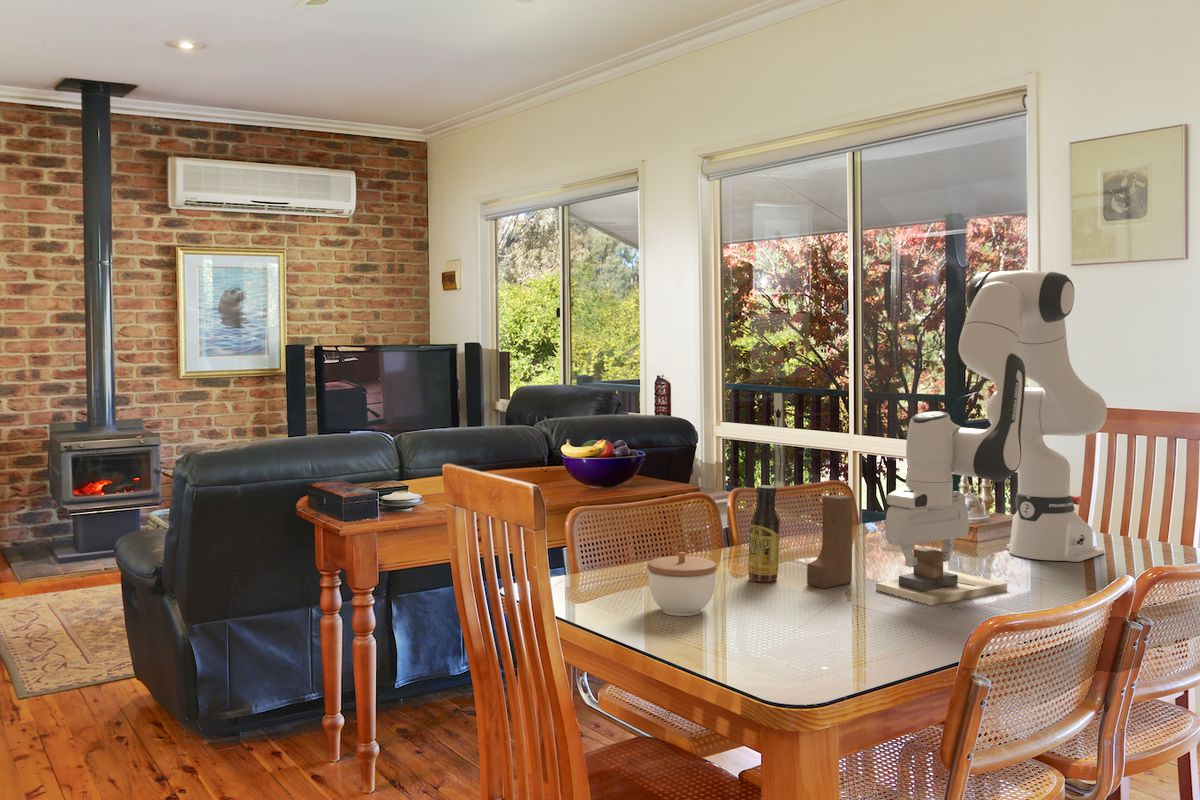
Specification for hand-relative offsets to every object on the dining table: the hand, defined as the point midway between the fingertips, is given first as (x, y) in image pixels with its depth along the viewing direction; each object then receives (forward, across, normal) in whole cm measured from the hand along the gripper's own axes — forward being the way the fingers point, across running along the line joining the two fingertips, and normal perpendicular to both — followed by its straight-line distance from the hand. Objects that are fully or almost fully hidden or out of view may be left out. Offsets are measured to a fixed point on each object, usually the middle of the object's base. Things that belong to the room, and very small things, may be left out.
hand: (927, 563), depth 207 cm
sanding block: (+4, 0, 0) cm, 4 cm away
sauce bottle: (+6, +20, -26) cm, 33 cm away
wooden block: (+6, +11, -16) cm, 20 cm away
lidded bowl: (+6, +49, -15) cm, 52 cm away
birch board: (+6, -4, 0) cm, 7 cm away
